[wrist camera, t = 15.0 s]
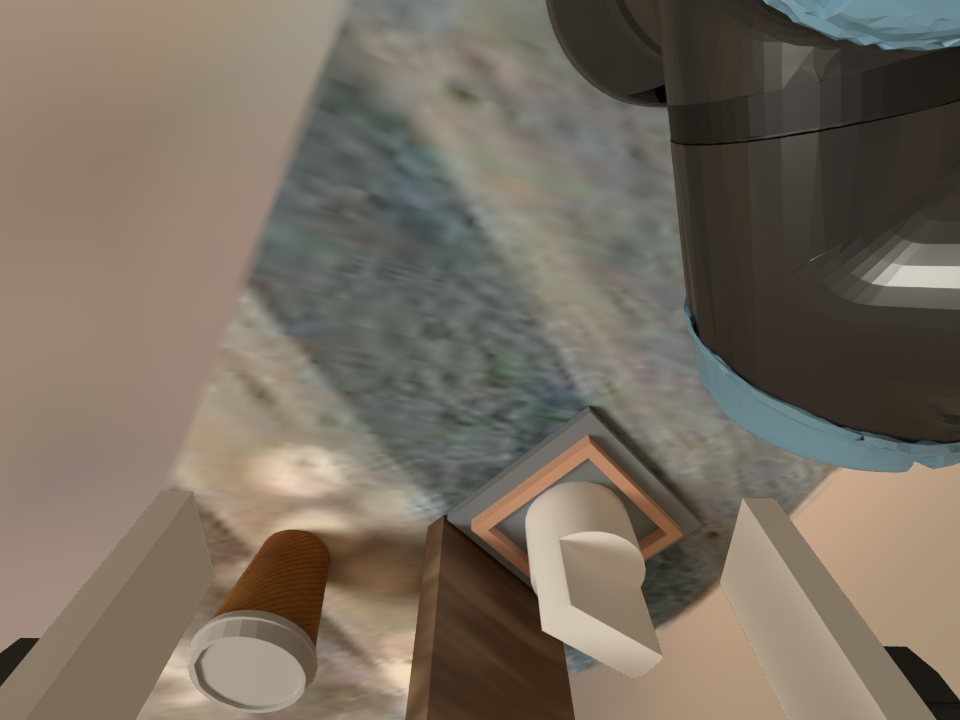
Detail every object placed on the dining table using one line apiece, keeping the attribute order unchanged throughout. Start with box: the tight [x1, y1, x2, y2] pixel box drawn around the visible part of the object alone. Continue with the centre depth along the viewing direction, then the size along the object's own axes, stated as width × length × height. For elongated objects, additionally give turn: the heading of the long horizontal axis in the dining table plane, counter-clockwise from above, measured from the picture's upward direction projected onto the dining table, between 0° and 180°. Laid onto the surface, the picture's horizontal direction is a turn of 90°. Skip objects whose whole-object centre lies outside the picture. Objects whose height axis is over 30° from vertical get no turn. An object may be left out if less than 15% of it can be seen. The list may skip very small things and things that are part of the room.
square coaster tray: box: [447, 406, 702, 590], centre depth 49 cm, size 16×16×2 cm
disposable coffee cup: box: [188, 530, 330, 713], centre depth 46 cm, size 10×10×12 cm
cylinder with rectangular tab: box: [525, 481, 663, 679], centre depth 43 cm, size 9×9×12 cm
